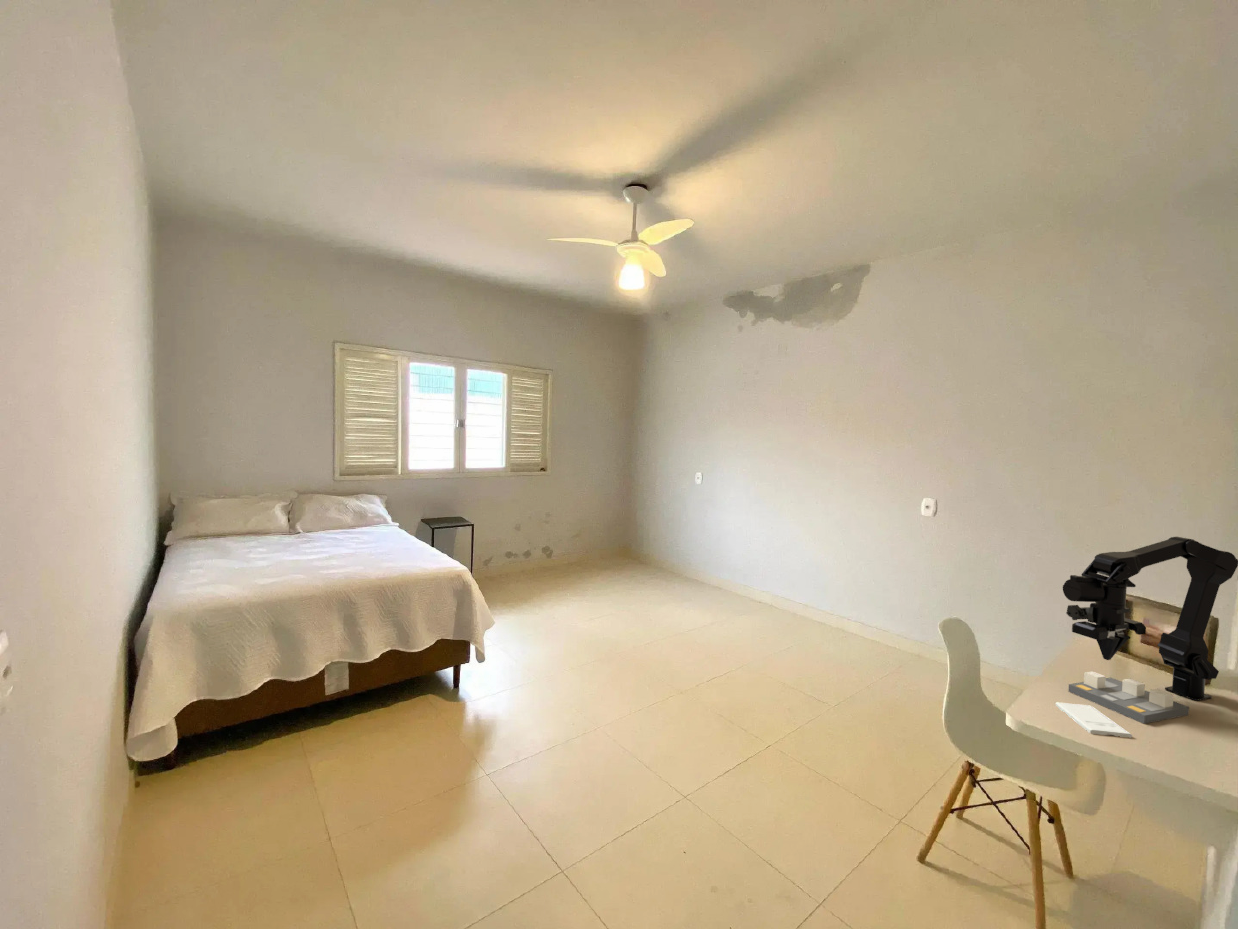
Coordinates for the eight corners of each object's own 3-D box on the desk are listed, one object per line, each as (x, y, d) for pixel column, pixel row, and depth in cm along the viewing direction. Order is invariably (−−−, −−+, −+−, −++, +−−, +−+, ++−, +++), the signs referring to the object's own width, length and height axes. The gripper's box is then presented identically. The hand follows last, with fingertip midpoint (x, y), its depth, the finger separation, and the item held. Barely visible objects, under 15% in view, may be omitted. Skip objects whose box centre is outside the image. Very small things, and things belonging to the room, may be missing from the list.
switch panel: (1110, 684, 140) (1110, 677, 140) (1188, 714, 125) (1189, 706, 124) (1068, 691, 136) (1068, 683, 136) (1144, 723, 120) (1144, 715, 120)
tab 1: (1091, 682, 136) (1092, 671, 136) (1104, 687, 134) (1105, 676, 133) (1083, 683, 136) (1084, 672, 136) (1096, 688, 133) (1097, 677, 133)
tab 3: (1157, 700, 127) (1157, 688, 127) (1172, 706, 124) (1173, 694, 124) (1148, 701, 126) (1149, 689, 126) (1164, 707, 124) (1165, 695, 123)
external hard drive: (1092, 712, 127) (1132, 740, 114) (1054, 708, 128) (1089, 735, 116) (1092, 705, 126) (1132, 733, 114) (1055, 701, 128) (1090, 729, 116)
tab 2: (1129, 689, 133) (1130, 678, 132) (1144, 695, 130) (1145, 683, 130) (1121, 691, 132) (1122, 679, 132) (1136, 696, 129) (1137, 685, 129)
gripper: (1099, 591, 145) (1096, 644, 146) (1051, 595, 140) (1048, 650, 141) (1149, 603, 134) (1145, 660, 135) (1099, 608, 129) (1095, 668, 130)
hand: (1106, 659), depth 136 cm, fingers closed
